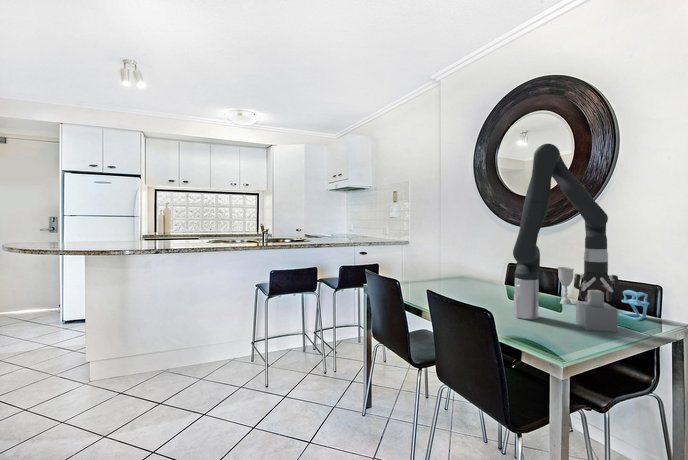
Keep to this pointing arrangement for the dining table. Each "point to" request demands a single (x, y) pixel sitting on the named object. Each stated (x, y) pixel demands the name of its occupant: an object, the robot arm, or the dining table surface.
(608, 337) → the dining table surface
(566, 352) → the dining table surface
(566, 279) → the chalice
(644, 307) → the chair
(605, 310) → the gray block
